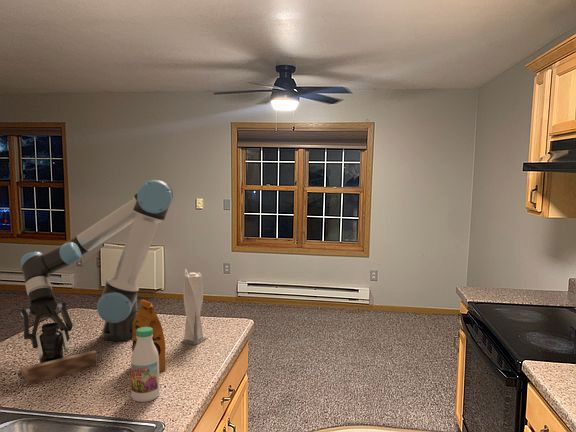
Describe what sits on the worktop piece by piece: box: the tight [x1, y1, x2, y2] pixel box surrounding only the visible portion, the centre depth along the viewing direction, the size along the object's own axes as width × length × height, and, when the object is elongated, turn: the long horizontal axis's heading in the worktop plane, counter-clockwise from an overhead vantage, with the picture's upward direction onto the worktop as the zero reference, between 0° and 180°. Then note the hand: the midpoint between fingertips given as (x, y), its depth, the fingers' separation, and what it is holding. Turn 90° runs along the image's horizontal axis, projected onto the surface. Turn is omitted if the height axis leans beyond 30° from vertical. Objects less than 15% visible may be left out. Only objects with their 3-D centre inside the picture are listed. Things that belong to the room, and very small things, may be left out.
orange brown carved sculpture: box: [131, 299, 167, 373], centre depth 147 cm, size 10×12×22 cm
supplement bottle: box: [38, 322, 64, 363], centre depth 144 cm, size 7×7×12 cm
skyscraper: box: [180, 268, 207, 346], centre depth 172 cm, size 8×8×28 cm
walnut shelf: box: [19, 350, 98, 385], centre depth 145 cm, size 20×12×5 cm, turn 131°
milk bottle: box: [130, 327, 160, 403], centre depth 127 cm, size 8×8×20 cm
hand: (54, 353), depth 141 cm, fingers closed on supplement bottle, 7 cm apart
